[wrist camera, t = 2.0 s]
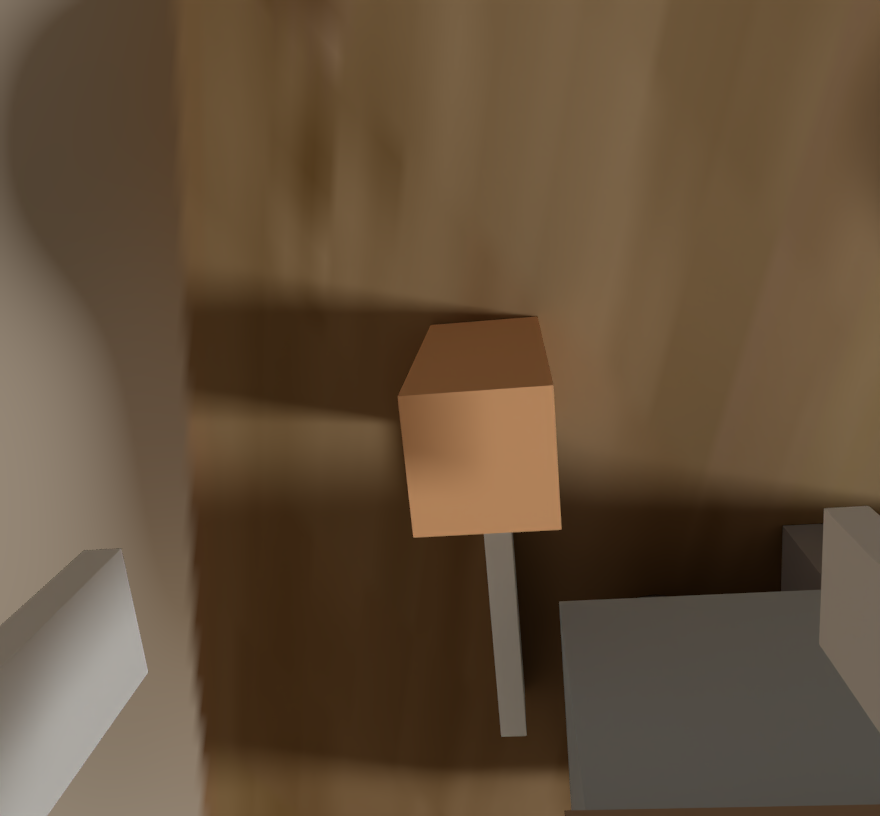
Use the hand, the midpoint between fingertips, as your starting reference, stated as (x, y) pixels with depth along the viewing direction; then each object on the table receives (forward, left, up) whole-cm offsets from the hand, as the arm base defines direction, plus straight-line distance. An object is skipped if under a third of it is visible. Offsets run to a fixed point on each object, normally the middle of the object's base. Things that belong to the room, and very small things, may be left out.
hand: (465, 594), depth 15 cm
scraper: (+6, 0, -16) cm, 17 cm away
